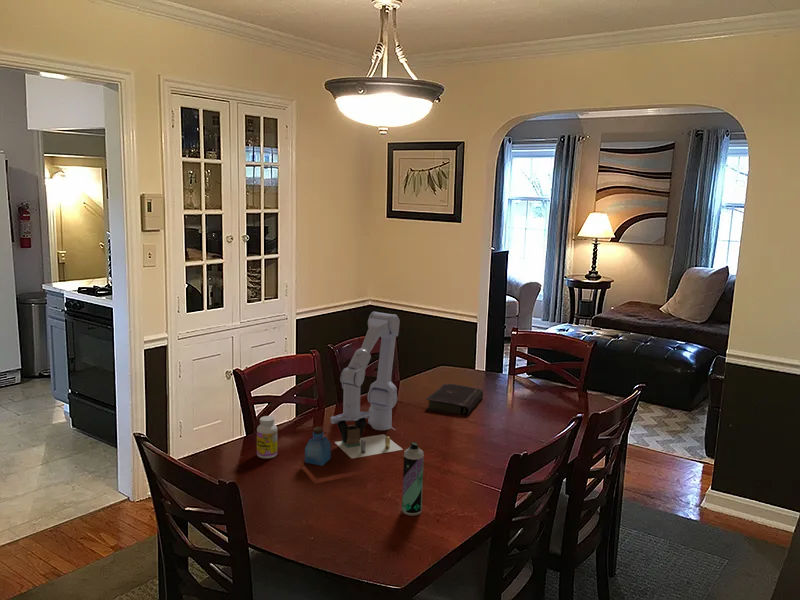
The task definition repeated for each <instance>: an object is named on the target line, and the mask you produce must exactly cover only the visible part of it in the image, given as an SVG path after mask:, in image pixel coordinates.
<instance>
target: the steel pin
mask: <svg viewBox="0 0 800 600" xmlns="http://www.w3.org/2000/svg"><path fill="white" fill-rule="evenodd" d="M361 453H366V441H365V440H362V441H361Z"/></svg>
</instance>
